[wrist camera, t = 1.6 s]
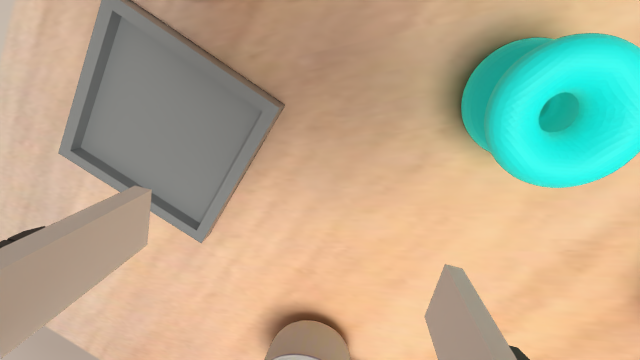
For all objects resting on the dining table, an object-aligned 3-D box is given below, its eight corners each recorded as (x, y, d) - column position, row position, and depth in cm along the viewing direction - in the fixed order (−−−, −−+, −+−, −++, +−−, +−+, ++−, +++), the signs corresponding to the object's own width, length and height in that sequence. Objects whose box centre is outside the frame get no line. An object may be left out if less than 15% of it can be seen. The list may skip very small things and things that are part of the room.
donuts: (459, 114, 21) (619, -10, 18) (435, 95, 31) (537, 10, 27) (547, 221, 23) (711, 126, 19) (499, 172, 32) (604, 102, 29)
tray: (120, -7, 32) (104, -11, 30) (285, 105, 33) (279, 108, 31) (73, 148, 39) (58, 153, 37) (209, 234, 41) (201, 243, 39)
